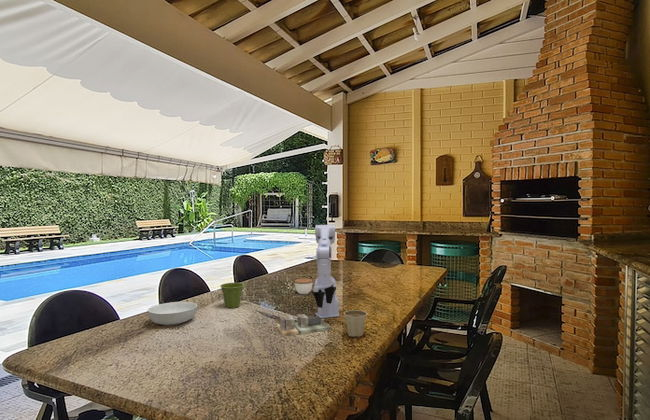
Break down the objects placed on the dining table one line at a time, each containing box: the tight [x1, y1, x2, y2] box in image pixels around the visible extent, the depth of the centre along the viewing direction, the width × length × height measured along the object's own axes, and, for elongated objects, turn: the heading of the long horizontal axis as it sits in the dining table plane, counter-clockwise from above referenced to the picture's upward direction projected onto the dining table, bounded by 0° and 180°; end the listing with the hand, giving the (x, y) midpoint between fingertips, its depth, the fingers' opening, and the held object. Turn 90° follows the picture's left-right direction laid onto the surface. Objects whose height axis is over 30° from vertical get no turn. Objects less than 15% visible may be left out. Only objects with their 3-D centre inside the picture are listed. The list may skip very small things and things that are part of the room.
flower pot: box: [343, 309, 368, 338], centre depth 152 cm, size 9×9×9 cm
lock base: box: [276, 313, 332, 337], centre depth 160 cm, size 20×12×5 cm, turn 111°
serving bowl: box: [147, 301, 198, 326], centre depth 170 cm, size 21×21×7 cm
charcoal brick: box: [297, 315, 322, 327], centre depth 161 cm, size 9×3×3 cm, turn 111°
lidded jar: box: [294, 276, 314, 295], centre depth 224 cm, size 11×11×9 cm
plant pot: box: [219, 282, 245, 309], centre depth 195 cm, size 12×12×11 cm
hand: (324, 305), depth 164 cm, fingers open, 7 cm apart
